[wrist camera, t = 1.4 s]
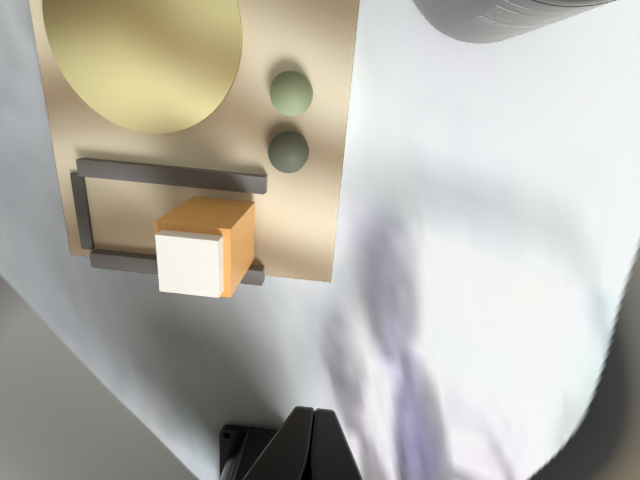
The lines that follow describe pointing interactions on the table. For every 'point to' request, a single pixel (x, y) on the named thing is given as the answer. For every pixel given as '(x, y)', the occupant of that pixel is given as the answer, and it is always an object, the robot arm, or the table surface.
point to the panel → (198, 121)
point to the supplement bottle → (498, 16)
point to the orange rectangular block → (205, 246)
